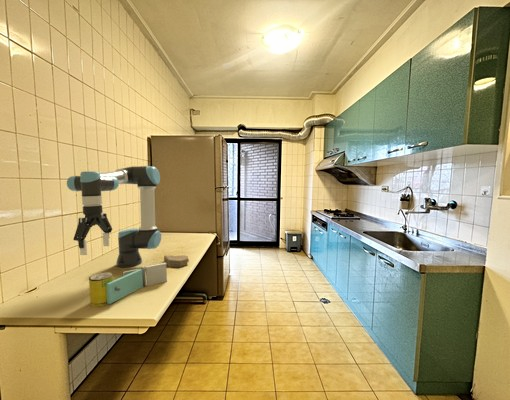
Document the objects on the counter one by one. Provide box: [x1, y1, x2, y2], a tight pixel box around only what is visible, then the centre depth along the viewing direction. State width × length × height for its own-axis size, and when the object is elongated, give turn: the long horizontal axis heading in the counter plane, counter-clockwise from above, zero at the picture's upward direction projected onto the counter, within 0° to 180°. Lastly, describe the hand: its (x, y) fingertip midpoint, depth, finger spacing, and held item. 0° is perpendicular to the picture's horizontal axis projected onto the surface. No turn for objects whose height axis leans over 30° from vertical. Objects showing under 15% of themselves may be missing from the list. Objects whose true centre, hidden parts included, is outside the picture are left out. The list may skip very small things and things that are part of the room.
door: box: [106, 268, 144, 305], centre depth 116 cm, size 3×19×9 cm, turn 160°
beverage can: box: [88, 272, 114, 308], centre depth 110 cm, size 9×9×12 cm
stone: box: [163, 254, 190, 268], centre depth 162 cm, size 17×15×4 cm
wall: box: [122, 262, 168, 288], centre depth 128 cm, size 3×20×10 cm, turn 126°
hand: (95, 250), depth 113 cm, fingers open, 13 cm apart
